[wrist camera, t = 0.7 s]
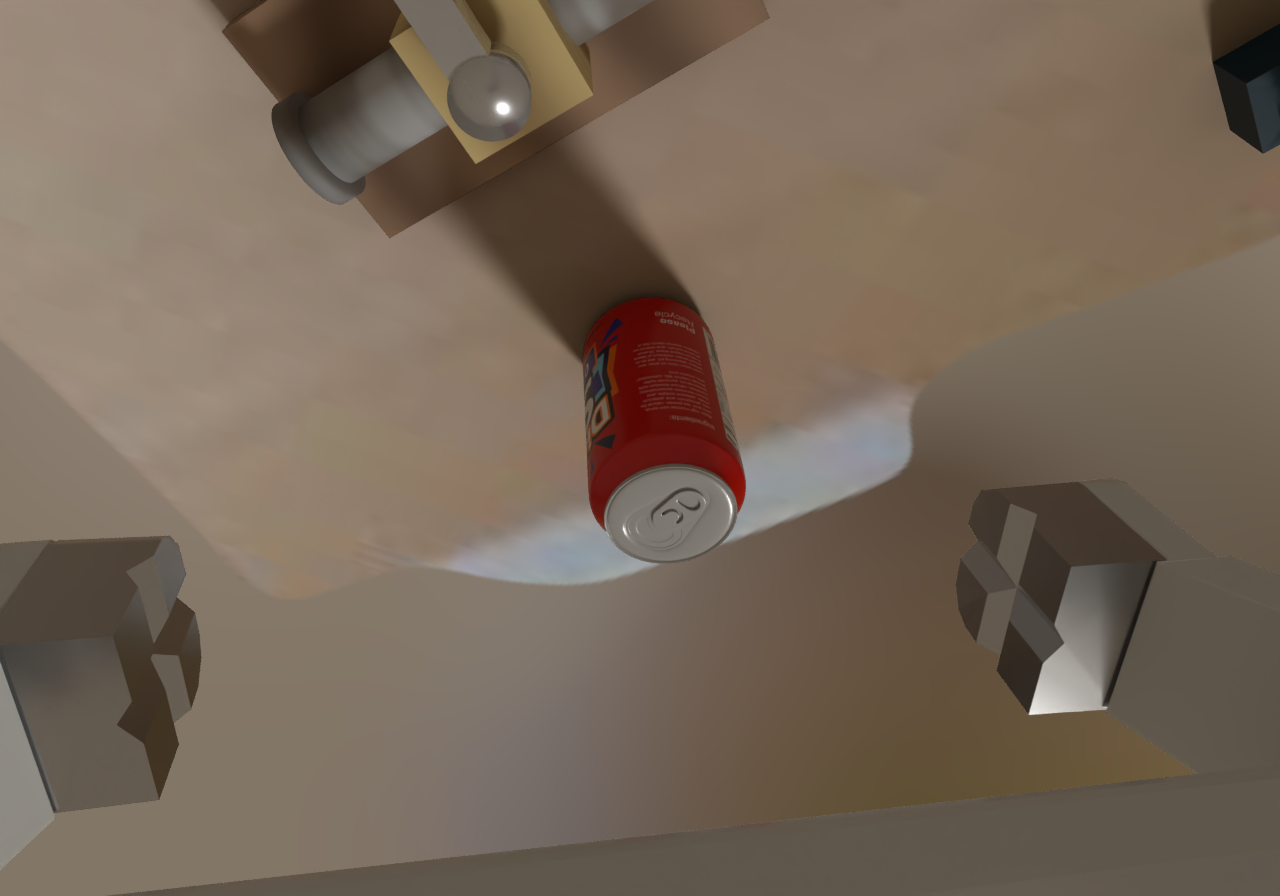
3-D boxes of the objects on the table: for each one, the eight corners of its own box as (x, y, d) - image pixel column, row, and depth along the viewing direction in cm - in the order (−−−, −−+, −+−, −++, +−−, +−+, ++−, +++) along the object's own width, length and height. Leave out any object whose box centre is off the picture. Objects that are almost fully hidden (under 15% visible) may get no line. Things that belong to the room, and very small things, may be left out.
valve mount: (644, -264, 39) (663, -244, 32) (764, 8, 46) (801, 72, 39) (230, 21, 45) (171, 90, 38) (393, 225, 52) (368, 313, 45)
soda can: (739, 338, 58) (785, 509, 47) (650, 418, 62) (673, 595, 50) (644, 263, 55) (668, 429, 43) (555, 352, 58) (556, 527, 46)
